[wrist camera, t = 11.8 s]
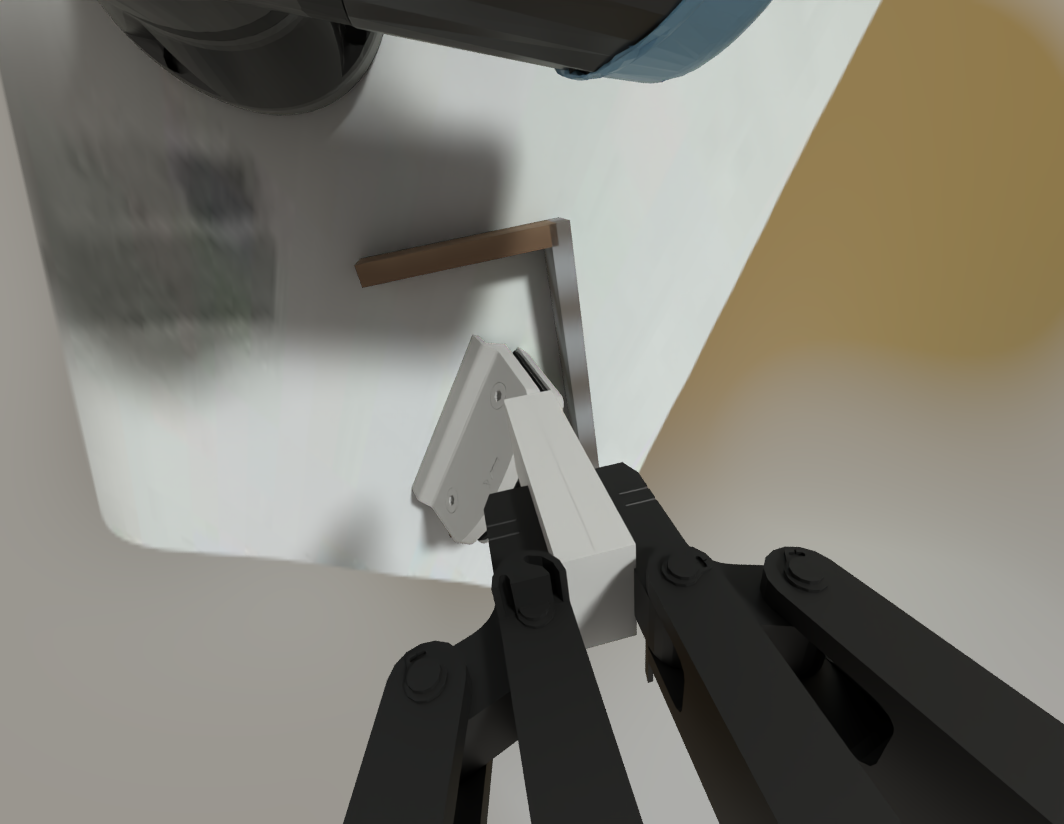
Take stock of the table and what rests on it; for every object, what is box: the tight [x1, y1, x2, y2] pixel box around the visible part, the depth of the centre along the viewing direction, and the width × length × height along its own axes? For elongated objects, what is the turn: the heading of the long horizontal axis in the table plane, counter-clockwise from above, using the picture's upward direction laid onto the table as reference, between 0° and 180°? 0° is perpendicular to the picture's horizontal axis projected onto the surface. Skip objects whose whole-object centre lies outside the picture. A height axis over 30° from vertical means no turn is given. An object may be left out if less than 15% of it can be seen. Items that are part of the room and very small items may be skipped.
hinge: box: [412, 335, 564, 545], centre depth 37 cm, size 17×5×10 cm, turn 155°
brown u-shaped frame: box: [354, 217, 599, 537], centre depth 38 cm, size 25×15×3 cm, turn 10°
